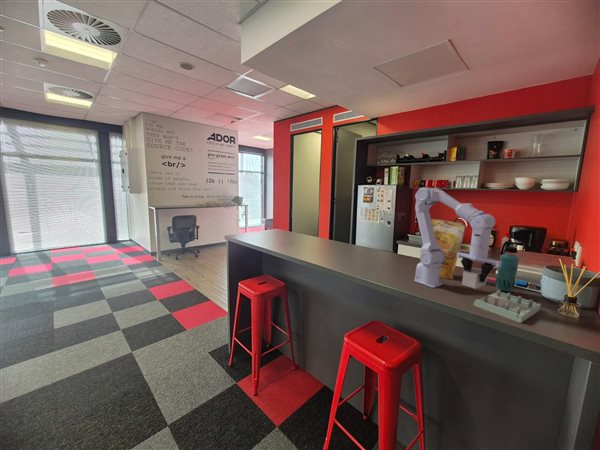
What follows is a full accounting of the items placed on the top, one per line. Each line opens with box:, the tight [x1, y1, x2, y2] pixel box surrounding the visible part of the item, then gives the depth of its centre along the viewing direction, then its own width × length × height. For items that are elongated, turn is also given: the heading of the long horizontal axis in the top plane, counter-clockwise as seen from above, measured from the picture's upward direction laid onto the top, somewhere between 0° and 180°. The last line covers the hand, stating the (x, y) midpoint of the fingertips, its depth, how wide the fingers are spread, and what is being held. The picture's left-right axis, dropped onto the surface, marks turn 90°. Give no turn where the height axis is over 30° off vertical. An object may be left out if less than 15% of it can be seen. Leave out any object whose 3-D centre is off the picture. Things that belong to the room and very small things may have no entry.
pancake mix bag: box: [421, 218, 466, 280], centre depth 126 cm, size 7×19×28 cm, turn 38°
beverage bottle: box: [495, 245, 520, 292], centre depth 107 cm, size 6×7×20 cm
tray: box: [473, 289, 542, 324], centre depth 93 cm, size 14×18×4 cm
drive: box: [461, 267, 487, 289], centre depth 97 cm, size 5×9×6 cm, turn 121°
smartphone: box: [487, 276, 497, 285], centre depth 125 cm, size 7×1×15 cm
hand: (474, 279), depth 97 cm, fingers open, 5 cm apart
